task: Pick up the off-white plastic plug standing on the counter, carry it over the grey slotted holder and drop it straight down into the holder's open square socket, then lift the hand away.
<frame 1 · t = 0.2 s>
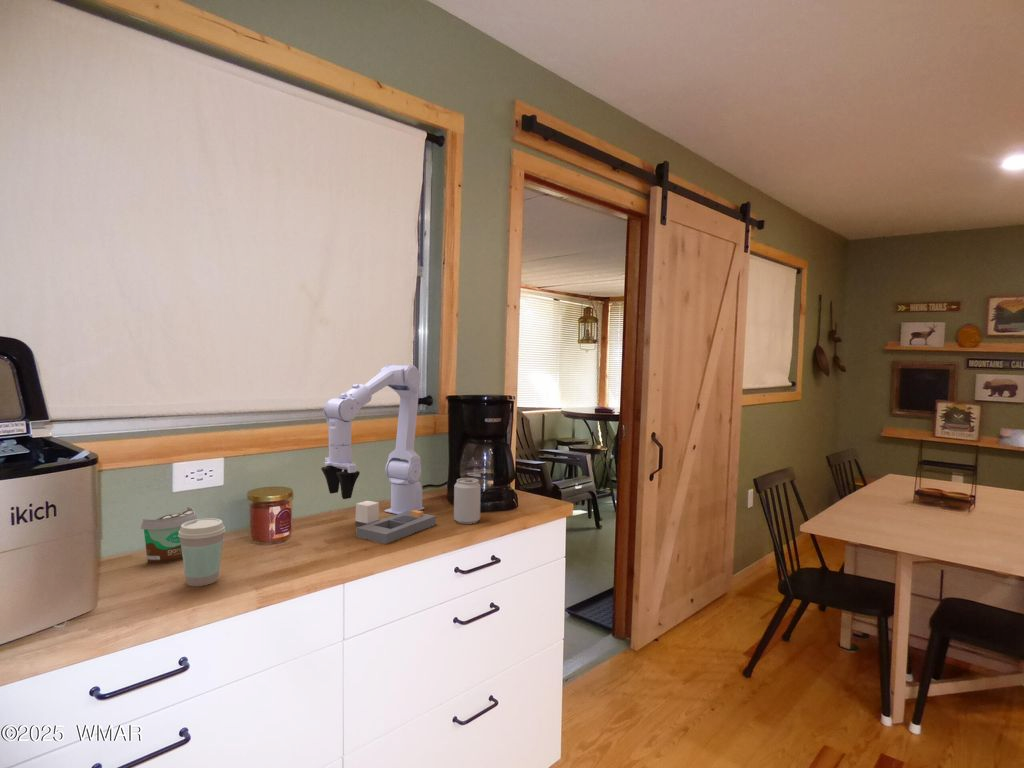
hand: (340, 495, 153), 10 cm above the table, tool pointing down, fingers open, 7 cm apart
food container: (176, 558, 133), on the table
coffee cup: (202, 582, 119), on the table
plug: (367, 524, 161), on the table
grey slotted holder: (397, 530, 156), on the table
can: (466, 521, 166), on the table
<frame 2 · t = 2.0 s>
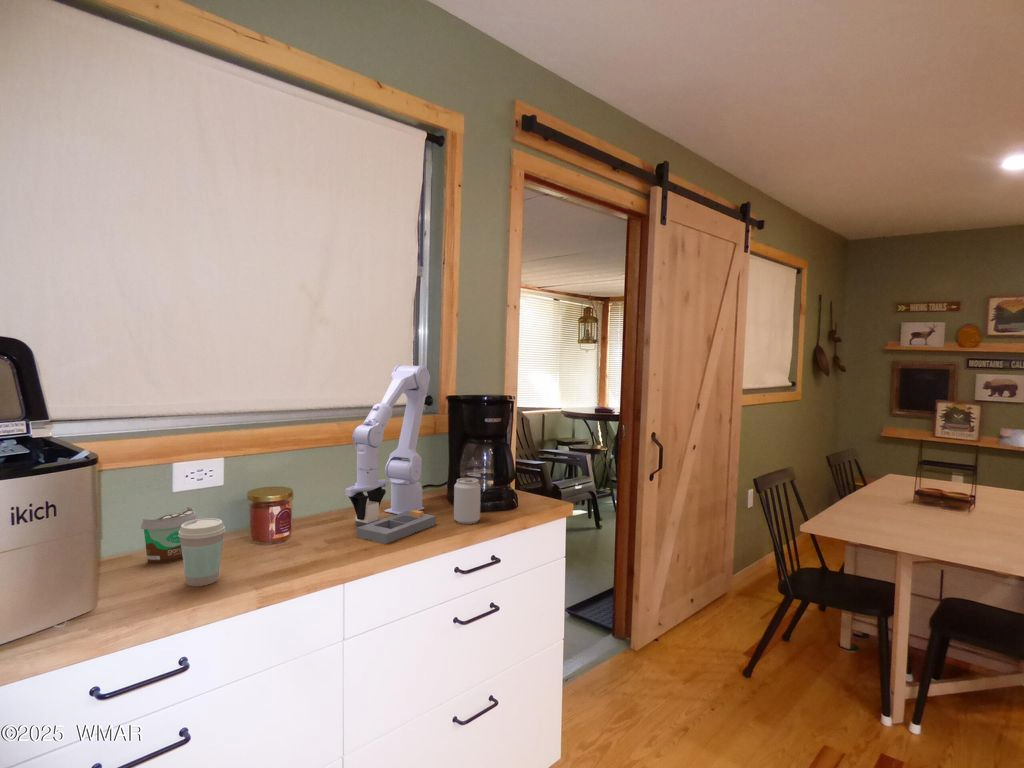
hand: (367, 517, 161), 2 cm above the table, tool pointing down, fingers closed on plug, 4 cm apart
plug: (367, 524, 161), on the table, touching gripper
everything else where it was.
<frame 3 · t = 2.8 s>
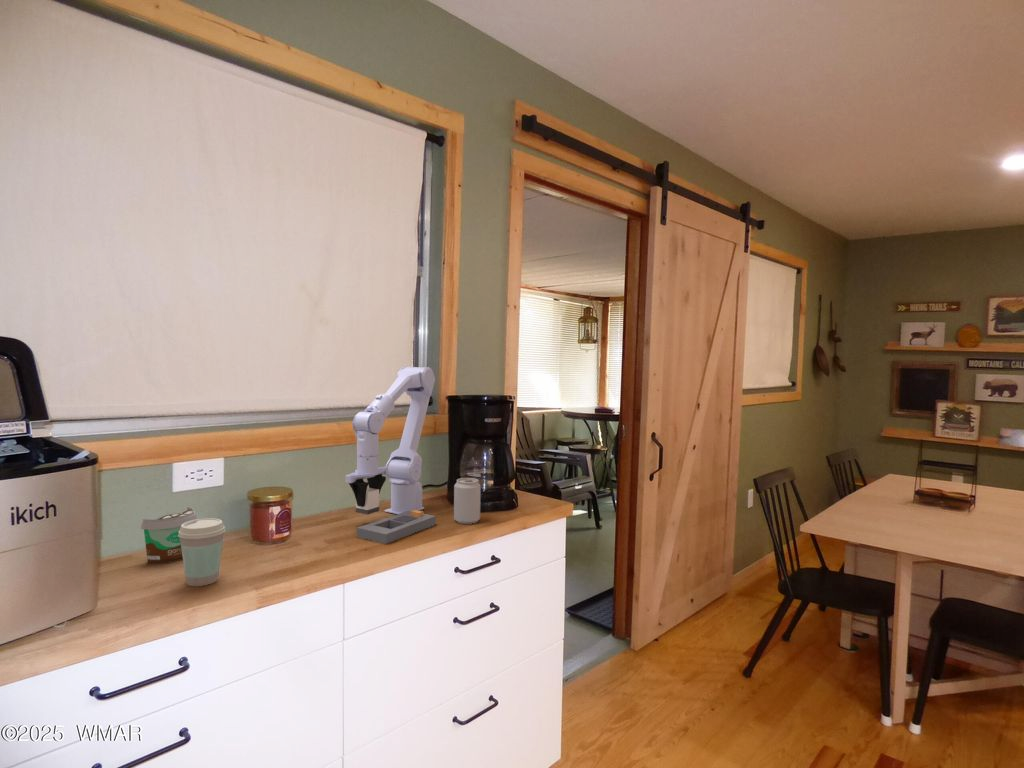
hand: (367, 504, 161), 6 cm above the table, tool pointing down, fingers closed on plug, 4 cm apart
plug: (367, 511, 161), point 4 cm above the table, touching gripper
everything else where it was.
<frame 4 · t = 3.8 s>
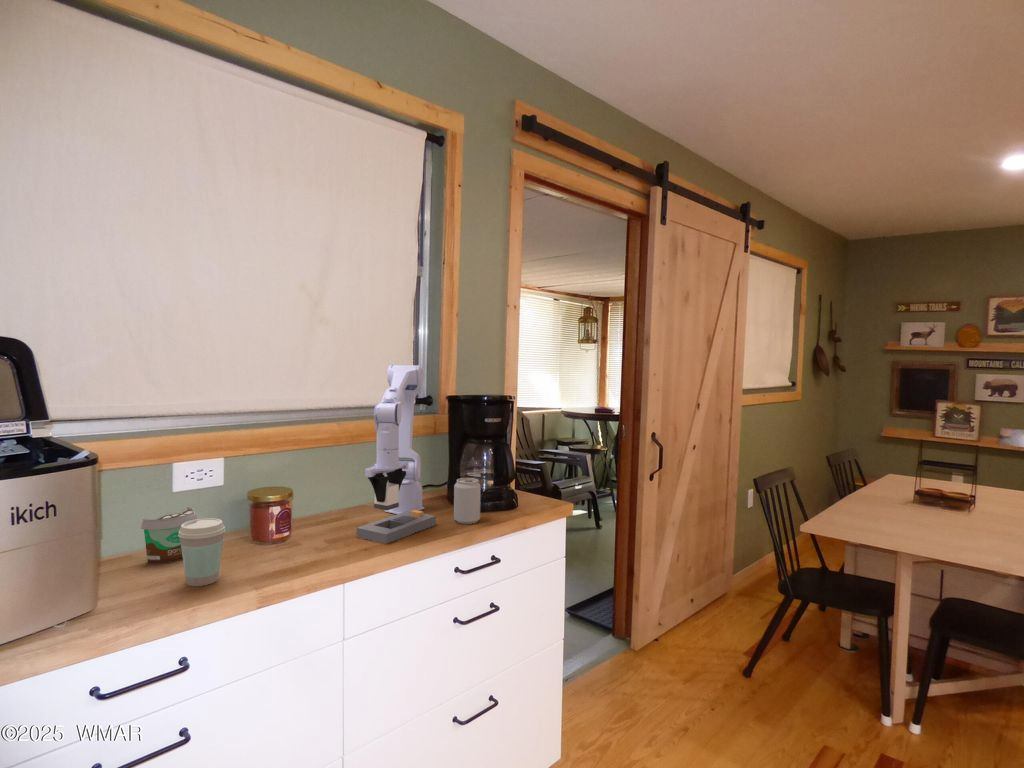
hand: (387, 499, 154), 9 cm above the table, tool pointing down, fingers closed on plug, 4 cm apart
plug: (386, 507, 154), point 7 cm above the table, touching gripper
everything else where it was.
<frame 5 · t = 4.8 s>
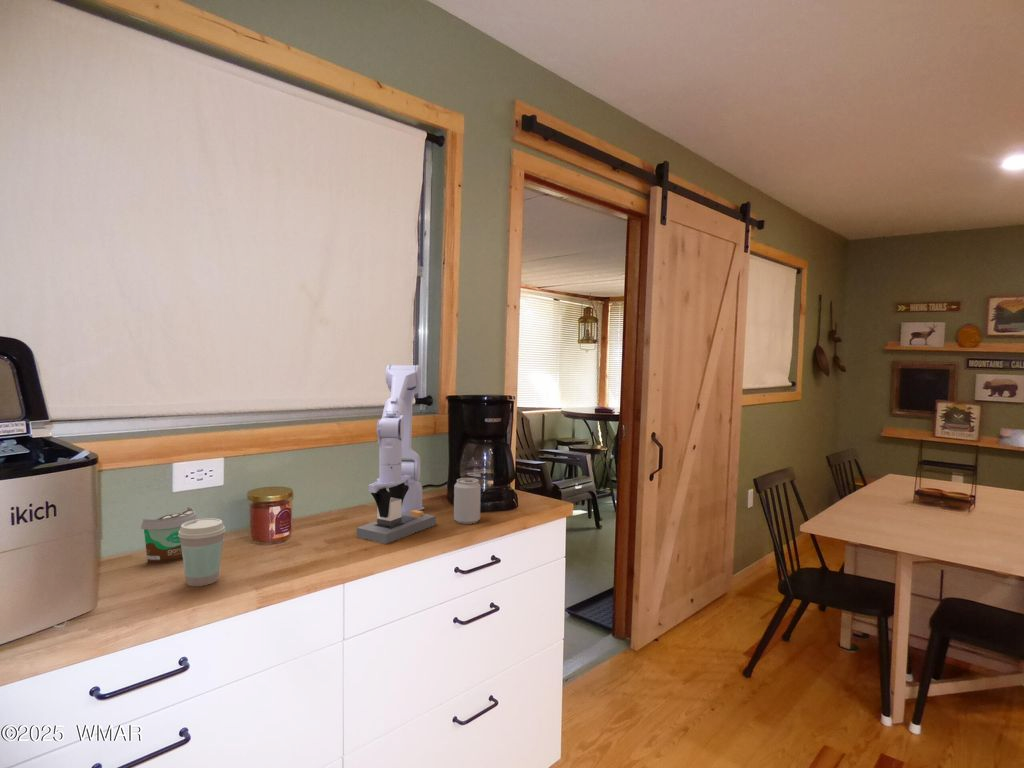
hand: (390, 514, 153), 5 cm above the table, tool pointing down, fingers closed on plug, 4 cm apart
plug: (389, 522, 153), point 3 cm above the table, touching gripper
everything else where it was.
when the fingers open (3 cm above the table, at t = 5.7 s): plug drops 1 cm, resting in grey slotted holder.
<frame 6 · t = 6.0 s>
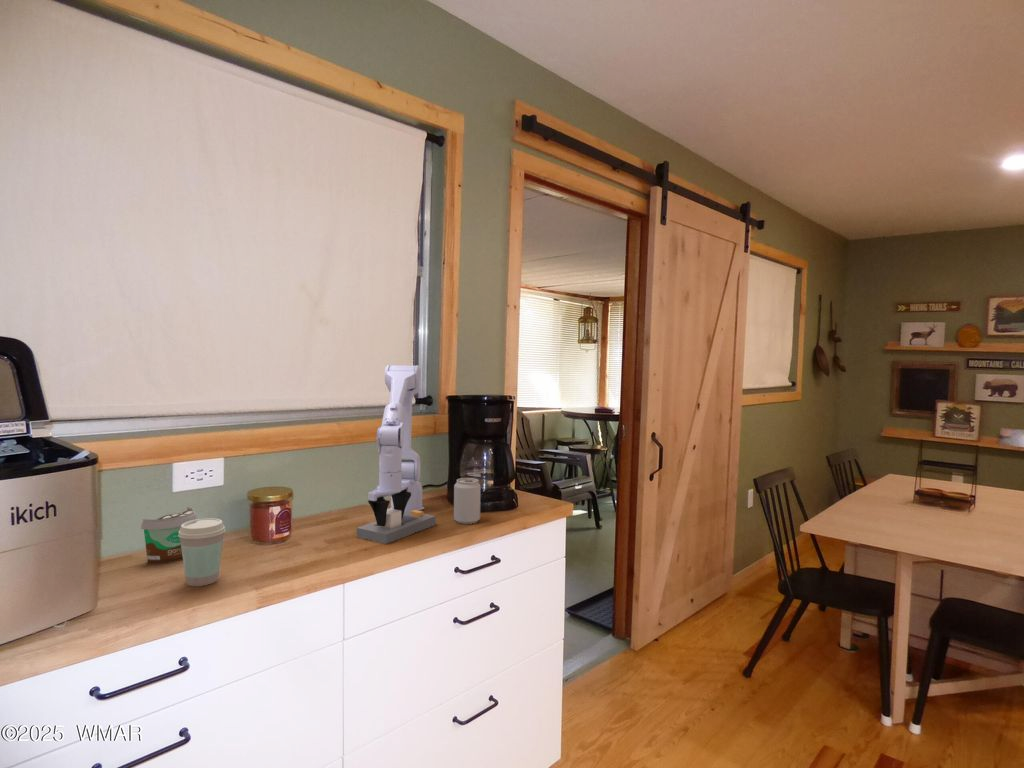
hand: (390, 522, 153), 3 cm above the table, tool pointing down, fingers open, 6 cm apart
plug: (389, 533, 153), resting in grey slotted holder
everything else where it was.
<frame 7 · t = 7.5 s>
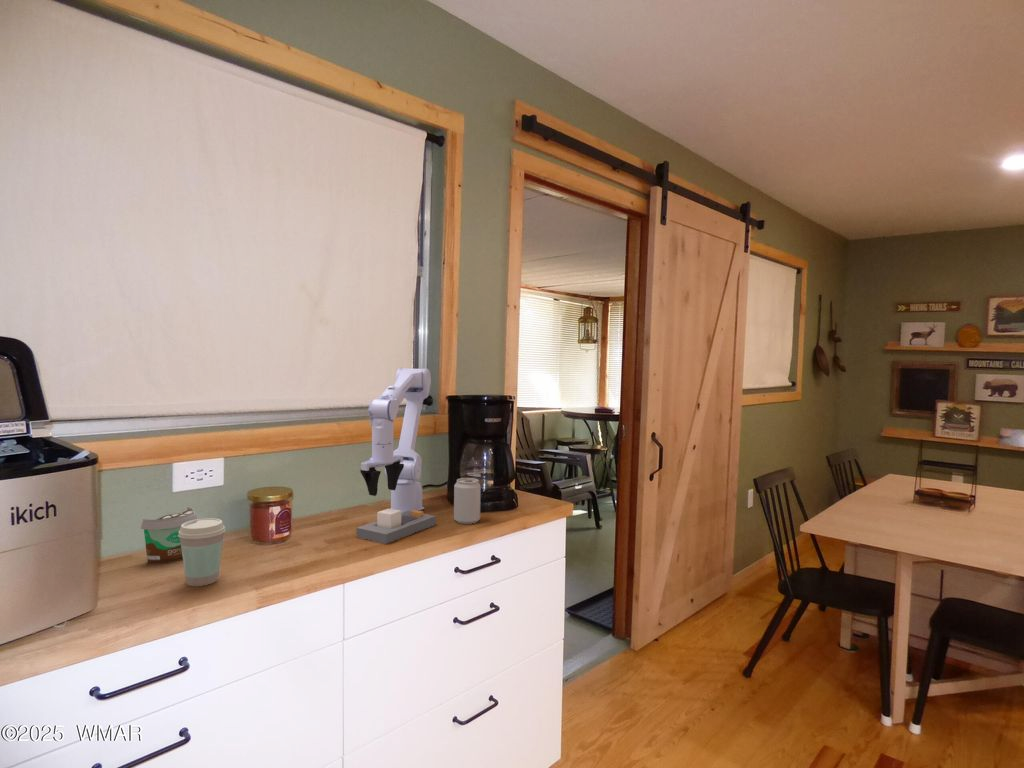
hand: (382, 492, 160), 9 cm above the table, tool pointing down, fingers open, 7 cm apart
nothing on the table moved.
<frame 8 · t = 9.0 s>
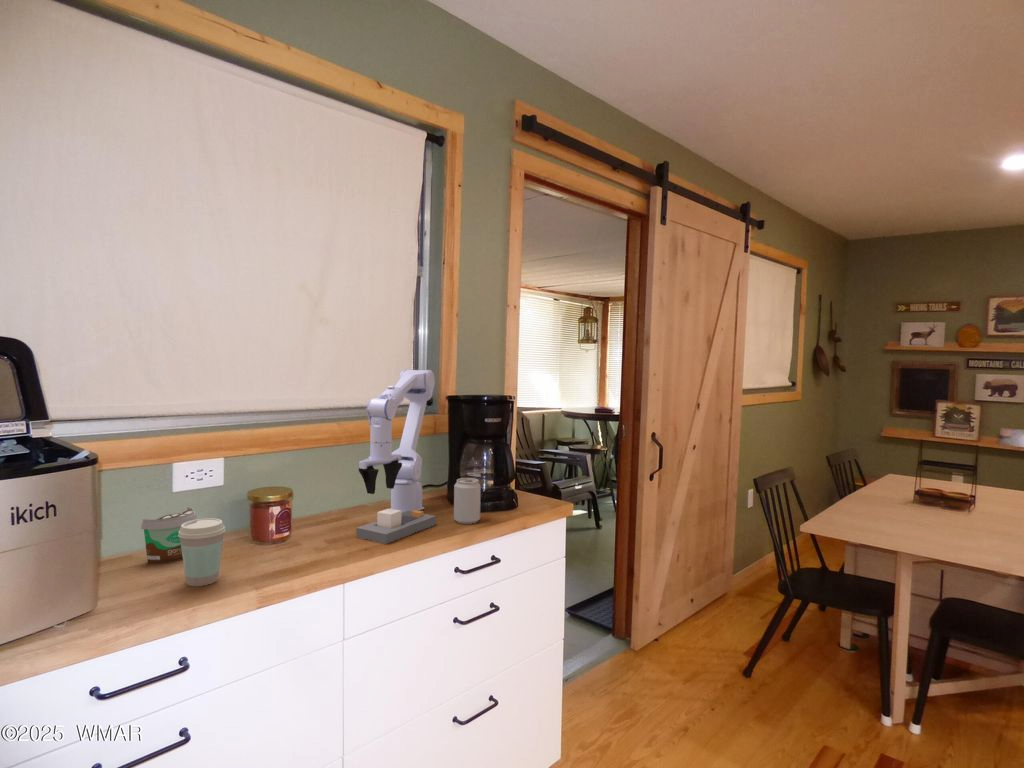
hand: (380, 490, 161), 9 cm above the table, tool pointing down, fingers open, 7 cm apart
nothing on the table moved.
at the end: plug 0.2 cm from the target spot on the grey slotted holder, point 0.0 cm above the grey slotted holder's base; plug tilted 0°; the gripper is holding nothing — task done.
